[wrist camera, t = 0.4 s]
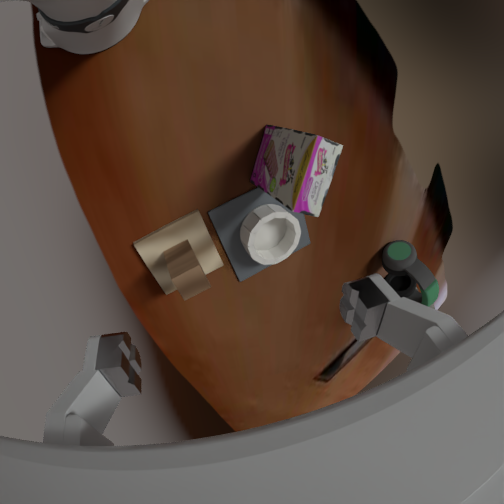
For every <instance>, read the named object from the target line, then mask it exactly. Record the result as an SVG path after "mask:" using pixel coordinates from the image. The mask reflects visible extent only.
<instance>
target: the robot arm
mask: <svg viewBox="0 0 504 504" xmlns="http://www.w3.org/2000/svg"><path fill="white" fill-rule="evenodd" d="M5 1H29V2H31V3H32V4H34V5H35V6H37V7H38V11H39V12H38V13H37V19H38V20H39V26H40V40H41V44H42V45H43V46H44V47H47V48H53V47H59V48H63V49H65V50H67V51H69V52H72V53H76V54H90V53H96V52H99V51H102V50H105V49H107V48H109V47H111V46H113V45H115V44H116V43H118V42H119V41H120V40H122V39H123V38H124V37H125V36H126V35H127V34H128V33H129V32H130V31H131V30H132V28H133V27H134V26H135V24H136V22H137V20H138V18H139V15H140V12H141V10H142V8H143V6H144V5H145V4H146V3H147V2H148V1H149V0H0V2H5ZM342 292H343V294H344V296H343V297H342V298H341V300H340V312H341V315H342V317H343V319H344V321H345V322H346V323H348V324H350V325H352V326H351V331H352V333H353V334H354V336H355V337H356V339H357V340H358V342H360V341H363V340H366V339H369V338H372V337H375V336H377V337H378V338H380V339H381V340H383V341H385V342H386V343H388V344H390V345H391V346H393V347H395V348H396V349H398V350H400V351H401V352H403V353H405V354H406V355H408V356H410V357H411V358H412V359H411V361H410V363H409V365H408V367H407V372H406V373H403V374H401V375H399V376H397V377H395V378H393V379H391V380H389V381H387V382H385V383H383V384H381V385H378V386H376V387H374V388H372V389H369V390H367V391H365V392H362V393H360V394H357V395H355V396H353V397H350V398H348V399H345V400H342V401H340V402H337V403H334V404H332V405H329V406H326V407H323V408H321V409H318V410H315V411H312V412H309V413H306V414H302V415H299V416H296V417H293V418H289V419H286V420H283V421H279V422H275V423H272V424H268V425H264V426H260V427H256V428H252V429H247V430H243V431H238V432H234V433H229V434H224V435H218V436H213V437H208V438H202V439H194V440H187V441H179V442H171V443H161V444H149V445H133V446H114V444H113V443H112V442H111V441H110V440H109V439H107V438H106V437H105V436H103V435H102V434H103V432H104V430H105V428H106V426H107V424H108V422H109V421H110V419H111V417H112V415H113V413H114V411H115V409H116V407H117V405H118V404H119V402H120V400H121V397H125V396H133V395H140V394H141V378H140V377H139V375H138V374H139V372H140V371H141V359H140V355H139V352H138V350H137V348H136V346H134V345H133V344H131V337H130V336H129V334H128V333H127V332H120V333H112V334H104V335H99V336H91V337H90V338H89V339H88V343H87V348H86V353H85V358H84V364H83V370H82V371H81V372H79V373H78V374H77V375H76V376H75V377H74V379H73V380H72V381H71V383H70V384H69V385H68V386H67V388H66V389H65V390H64V391H63V393H62V394H61V395H60V397H59V398H58V399H57V400H56V402H55V403H54V405H53V406H52V407H51V408H50V410H49V411H48V412H47V414H46V422H45V429H44V437H43V438H44V439H43V443H42V442H34V441H27V440H20V439H14V438H9V437H4V436H0V504H504V311H502V312H501V313H500V314H498V315H497V316H496V317H495V318H493V319H492V320H490V321H489V322H488V323H486V324H485V325H484V326H482V327H481V328H479V329H478V330H476V331H475V332H473V333H472V334H471V335H469V336H468V335H467V334H466V332H465V331H464V330H463V329H462V328H461V327H460V326H459V324H458V323H457V322H456V321H455V320H454V319H453V318H452V317H451V316H450V315H447V314H445V313H443V312H440V311H438V310H435V309H433V308H430V307H428V306H425V305H423V304H420V303H418V302H415V301H413V300H410V299H408V298H405V297H402V298H401V297H400V296H399V295H398V294H397V293H396V292H395V291H394V290H393V288H392V287H391V286H390V285H389V284H388V283H387V282H386V281H385V280H384V279H383V278H382V276H381V275H379V274H377V273H376V274H373V275H370V276H367V277H363V278H360V279H357V280H353V281H350V282H346V283H344V285H343V286H342Z"/></svg>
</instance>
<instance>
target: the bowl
mask: <svg viewBox="0 0 504 504" xmlns="http://www.w3.org/2000/svg"><path fill="white" fill-rule="evenodd" d="M300 235H301V229H300V225H299V221H298V219H296V218H295V217H294V216H293V215H291V214H290V213H289V212H288V211H286V210H285V209H284V208H282V207H281V206H279V205H276V204H264V205H260V206H258V207H256V208H254V209H253V210H252V211H251V212H249V213H248V215H247V216H246V217H245V219H244V220H243V222H242V225H241V228H240V240H241V243H242V245H243V246H244V248H245V250H246V251H247V253H248V254H249V255H250V256H251V258H252V259H253V260H255V261H257V262H259V263H260V264H263V265H269V264H277V263H279V262H281V261H282V260H284V259H286V258H288V256H290V255H291V253H292V252H293V251H294V250H295V248H296V247H297V245H298V243H299V239H300Z"/></svg>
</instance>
